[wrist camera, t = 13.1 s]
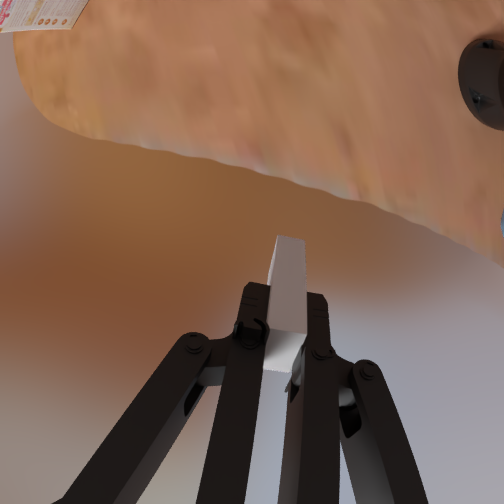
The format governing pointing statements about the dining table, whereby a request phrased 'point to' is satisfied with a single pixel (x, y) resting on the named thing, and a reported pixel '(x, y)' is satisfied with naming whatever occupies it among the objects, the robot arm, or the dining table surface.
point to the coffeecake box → (39, 14)
